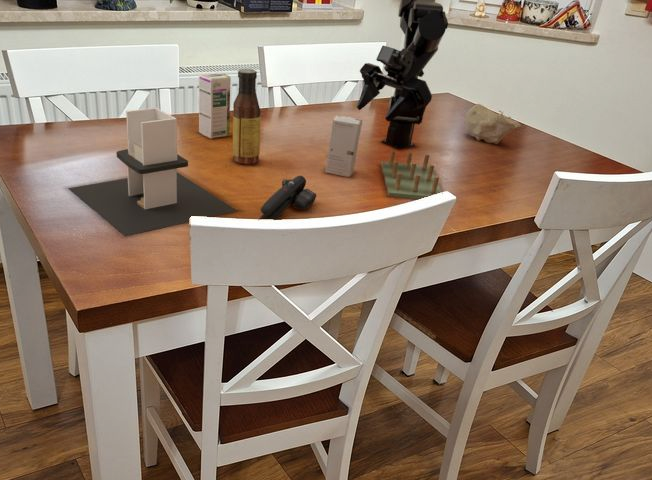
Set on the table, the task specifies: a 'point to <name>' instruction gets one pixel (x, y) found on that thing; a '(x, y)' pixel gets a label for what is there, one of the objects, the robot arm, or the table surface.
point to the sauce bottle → (246, 120)
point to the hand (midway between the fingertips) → (371, 114)
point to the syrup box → (214, 104)
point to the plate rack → (409, 178)
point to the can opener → (288, 198)
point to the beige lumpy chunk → (489, 124)
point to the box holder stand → (150, 181)
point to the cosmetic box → (343, 145)
